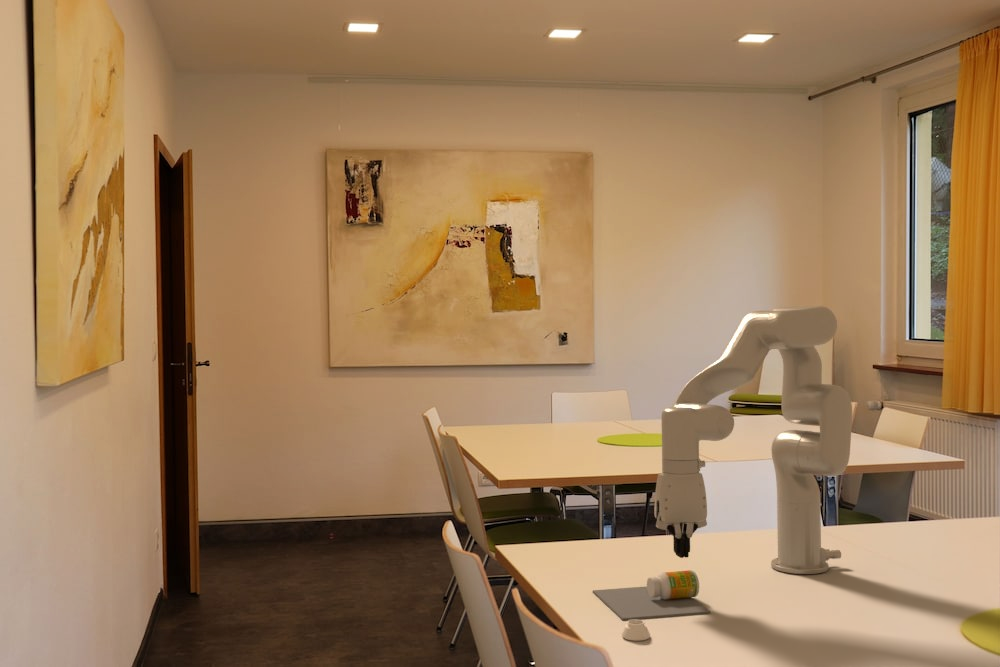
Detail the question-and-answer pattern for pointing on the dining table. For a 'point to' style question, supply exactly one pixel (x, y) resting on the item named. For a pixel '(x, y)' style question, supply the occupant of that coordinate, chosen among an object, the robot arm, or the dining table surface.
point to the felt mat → (646, 604)
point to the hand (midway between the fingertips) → (681, 555)
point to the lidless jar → (635, 631)
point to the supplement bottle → (674, 585)
